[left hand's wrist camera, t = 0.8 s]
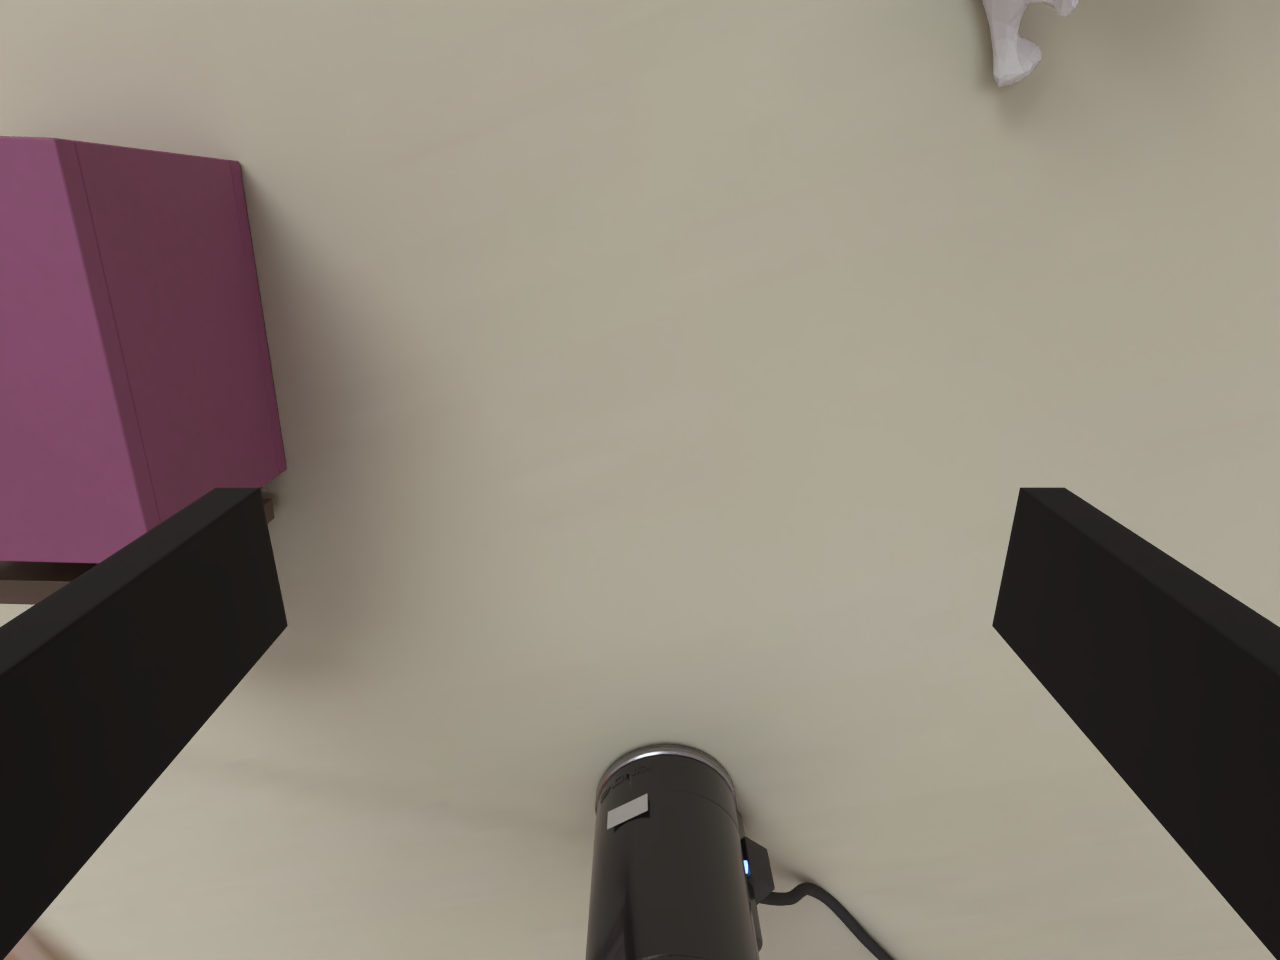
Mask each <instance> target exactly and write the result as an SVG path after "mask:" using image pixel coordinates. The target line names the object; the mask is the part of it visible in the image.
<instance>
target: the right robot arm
mask: <svg viewBox="0 0 1280 960" xmlns="http://www.w3.org/2000/svg"><path fill="white" fill-rule="evenodd" d="M595 810H596V827H595V839H594V851H593V865H592V879H591V893H590V907H589V920H588V934H587V948H586V960H760V959H759V951H760V950H761V947H762V935H761V930H760V924H759V918H758V912H757V906H756V905H757V904H758V903H762V904H768V905H777V906H784V905H792V904H795V903H797V902H798V901H799V900H801V899H802V898H803V897H804V896H805V895H810V896H812V897H815V898H817V899H818V900H820V901H822V902H823V903H824V904H826V905H827V906H828V907H829V908H830V909H831V910H832V911H833V912H834V913H835V914H836V915H837V916H838V917H839V918H840V919H841V920H842V922H843V923H844V924H845V925H846V926H847V927H848V928H849V929H850V931H851V932H852V933H853V934H854V935H855V936H856V937H857V938H858V940H859V941H860V942H861V943H862V944H863V945H864V946H865V947H866V948H867V949H868V950H869V951H870V952H871V953H872V954H873V955H874V956H875V957H876V958H877V959H878V960H893V959H892V958H891V957H890V956H889V955H888V954H887V953H886V952H885V951H884V950H883V949H882V948H881V947H880V946H879V945H878V944H877V943H876V942H875V941H874V940H873V939H872V938H871V937H870V936H869V935H868V934H867V933H866V932H865V931H864V930H863V928H862V927H861V926H860V925H859V924H858V923H857V922H856V920H855V919H854V918H853V917H852V916H851V915H850V914H849V913H848V911H847V910H846V909H845V908H844V907H843V906H842V905H841V904H840V903H839V902H838V901H837V900H836V899H835V898H834V897H832V896H831V895H830V894H829V893H827V892H826V891H825V890H823V889H822V888H820V887H818V886H816V885H814V884H811V883H801V884H799V885H798V886H796V887H795V888H794V889H793V890H791V891H790V892H787V893H777V892H772V891H773V890H774V883H773V878H772V873H771V868H770V863H769V858H768V853H767V849H765V848H764V847H762V846H760V845H759V844H757V843H755V842H754V841H752V840H750V839H749V838H747V837H745V834H744V828H743V823H742V817H741V814H740V813H739V812H738V811H737V810H736V797H735V791H734V787H733V783H732V781H731V778H730V777H729V775H728V773H727V772H726V770H725V769H724V768H723V767H722V766H721V765H720V764H719V763H718V762H717V761H716V760H715V759H713V758H712V757H710V756H709V755H707V754H705V753H703V752H701V751H699V750H696V749H693V748H690V747H686V746H681V745H673V744H659V745H651V746H647V747H643V748H639V749H637V750H634V751H632V752H629V753H627V754H626V755H624V756H622V757H621V758H619V759H618V760H617V761H615V762H614V763H613V764H612V765H611V766H610V767H609V768H608V769H607V770H606V772H605V773H604V775H603V776H602V778H601V780H600V782H599V785H598V788H597V794H596V808H595Z"/></svg>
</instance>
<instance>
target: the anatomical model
mask: <svg viewBox="0 0 1280 960" xmlns="http://www.w3.org/2000/svg"><path fill="white" fill-rule="evenodd" d="M1078 1H1079V0H982V2H983V5H984V8H985V12H986V15H987V19H988V22H989V26H990V33H991V41H992V49H993V76H994V80H995V82H996V83H997V85H998V87H1003V86H1007V85H1011V84H1014V83H1018V82H1019V81H1021V80H1022V79H1023V78H1025V77H1026V76H1028V75H1029V74H1031V72H1032V71H1033V70H1034V68H1035V67H1036V65H1037V64H1038V63H1039V62H1040V60H1041V59H1042V51H1041V48H1040V47H1039V46H1038V45H1037V44H1035V43H1033V42H1031V41H1029V40H1026V39H1024V38H1022V37H1020V35H1019V33H1018V30H1019V25H1020V22H1021V18H1022V16H1023V13H1024V11H1025V9H1026V8H1027V6H1028V5H1029V4H1031V3H1043V4H1047V5H1050V6H1053V7H1054V9H1055V11H1056V13H1057V14H1059V15H1060V16H1066V17H1067V16H1068V15H1069V14H1070V13H1072V12H1073V11H1074V10H1075V8H1076V6H1077V4H1078Z"/></svg>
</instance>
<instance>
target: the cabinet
mask: <svg viewBox="0 0 1280 960" xmlns="http://www.w3.org/2000/svg"><path fill="white" fill-rule="evenodd" d="M285 470H286V462H285V456H284V449H283V443H282V436H281V430H280V423H279V417H278V411H277V404H276V398H275V391H274V385H273V378H272V372H271V365H270V359H269V352H268V346H267V339H266V333H265V326H264V320H263V313H262V307H261V300H260V294H259V287H258V281H257V274H256V268H255V261H254V255H253V248H252V242H251V235H250V229H249V222H248V216H247V209H246V203H245V196H244V190H243V183H242V177H241V170H240V164H239V162H238V161H232V160H224V159H216V158H208V157H200V156H192V155H184V154H176V153H168V152H161V151H153V150H145V149H137V148H129V147H121V146H113V145H105V144H97V143H89V142H81V141H72V140H66V139H58V138H38V137H7V136H0V561H26V562H63V563H100V562H102V561H103V560H105V559H106V558H108V557H110V556H111V555H113V554H114V553H116V552H117V551H119V550H120V549H122V548H123V547H125V546H126V545H128V544H130V543H131V542H133V541H134V540H136V539H137V538H139V537H140V536H142V535H143V534H145V533H146V532H148V531H150V530H151V529H153V528H154V527H156V526H157V525H159V524H160V523H162V522H163V521H165V520H167V519H168V518H170V517H171V516H173V515H174V514H176V513H177V512H179V511H180V510H182V509H183V508H185V507H187V506H188V505H190V504H191V503H193V502H194V501H196V500H197V499H199V498H200V497H202V496H203V495H205V494H207V493H208V492H210V491H211V490H213V489H214V488H261V487H262V486H264V485H265V484H267V483H268V482H269V481H271V480H272V479H273V478H275V477H276V476H278V475H279V474H281V473H282V472H283V471H285Z"/></svg>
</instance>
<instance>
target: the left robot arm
mask: <svg viewBox="0 0 1280 960" xmlns="http://www.w3.org/2000/svg"><path fill="white" fill-rule="evenodd" d="M287 626H288V625H287V620H286V615H285V610H284V605H283V600H282V595H281V590H280V586H279V581H278V576H277V571H276V566H275V561H274V556H273V551H272V546H271V541H270V536H269V531H268V526H267V521H266V516H265V511H264V506H263V501H262V496H261V491H260V488H214V489H213V490H211V491H210V492H208V493H207V494H205V495H203V496H202V497H200V498H199V499H197V500H196V501H194V502H193V503H191V504H190V505H188V506H187V507H185V508H183V509H182V510H180V511H179V512H177V513H176V514H174V515H173V516H171V517H170V518H168V519H167V520H165V521H163V522H162V523H160V524H159V525H157V526H156V527H154V528H153V529H151V530H150V531H148V532H146V533H145V534H143V535H142V536H140V537H139V538H137V539H136V540H134V541H133V542H131V543H130V544H128V545H126V546H125V547H123V548H122V549H120V550H119V551H117V552H116V553H114V554H113V555H111V556H110V557H108V558H106V559H105V560H103V561H102V562H100V563H99V564H97V565H96V566H94V567H93V568H91V569H89V570H88V571H86V572H85V573H83V574H82V575H80V576H79V577H77V578H76V579H74V580H73V581H71V582H69V583H68V584H66V585H65V586H63V587H62V588H60V589H59V590H57V591H56V592H54V593H53V594H51V595H49V596H48V597H46V598H45V599H43V600H42V601H40V602H39V603H37V604H36V605H34V606H32V607H31V608H29V609H28V610H26V611H25V612H23V613H22V614H20V615H19V616H17V617H16V618H14V619H12V620H11V621H9V622H8V623H6V624H5V625H3V626H2V627H0V960H3V959H4V958H5V957H6V956H7V954H8V953H9V952H10V951H11V950H12V949H13V947H14V946H15V945H16V944H17V943H18V942H19V940H20V939H21V938H22V937H23V936H24V935H25V933H26V932H27V931H28V930H29V929H30V928H31V926H32V925H33V924H34V923H35V922H36V920H37V919H38V918H39V917H40V916H41V915H42V913H43V912H44V911H45V910H46V909H47V908H48V906H49V905H50V904H51V903H52V902H53V901H54V899H55V898H56V897H57V896H58V895H59V893H60V892H61V891H62V890H63V889H64V888H65V886H66V885H67V884H68V883H69V882H70V881H71V879H72V878H73V877H74V876H75V875H76V874H77V872H78V871H79V870H80V869H81V868H82V866H83V865H84V864H85V863H86V862H87V861H88V859H89V858H90V857H91V856H92V855H93V854H94V852H95V851H96V850H97V849H98V848H99V847H100V845H101V844H102V843H103V842H104V841H105V839H106V838H107V837H108V836H109V835H110V834H111V832H112V831H113V830H114V829H115V828H116V827H117V825H118V824H119V823H120V822H121V821H122V820H123V818H124V817H125V816H126V815H127V814H128V812H129V811H130V810H131V809H132V808H133V807H134V805H135V804H136V803H137V802H138V801H139V800H140V798H141V797H142V796H143V795H144V794H145V793H146V791H147V790H148V789H149V788H150V787H151V785H152V784H153V783H154V782H155V781H156V780H157V778H158V777H159V776H160V775H161V774H162V773H163V771H164V770H165V769H166V768H167V767H168V766H169V764H170V763H171V762H172V761H173V760H174V759H175V757H176V756H177V755H178V754H179V753H180V751H181V750H182V749H183V748H184V747H185V746H186V744H187V743H188V742H189V741H190V740H191V739H192V737H193V736H194V735H195V734H196V733H197V732H198V730H199V729H200V728H201V727H202V726H203V724H204V723H205V722H206V721H207V720H208V719H209V717H210V716H211V715H212V714H213V713H214V712H215V710H216V709H217V708H218V707H219V706H220V705H221V703H222V702H223V701H224V700H225V699H226V697H227V696H228V695H229V694H230V693H231V692H232V690H233V689H234V688H235V687H236V686H237V685H238V683H239V682H240V681H241V680H242V679H243V678H244V676H245V675H246V674H247V673H248V672H249V670H250V669H251V668H252V667H253V666H254V665H255V663H256V662H257V661H258V660H259V659H260V658H261V656H262V655H263V654H264V653H265V652H266V651H267V649H268V648H269V647H270V646H271V645H272V643H273V642H274V641H275V640H276V639H277V638H278V636H279V635H280V634H281V633H282V632H283V631H284V629H285V628H286V627H287ZM992 626H993V627H994V628H995V629H996V631H997V632H998V633H999V634H1000V635H1001V636H1002V638H1003V639H1004V640H1005V641H1006V642H1007V643H1008V645H1009V646H1010V647H1011V648H1012V649H1013V651H1014V652H1015V653H1016V654H1017V655H1018V656H1019V658H1020V659H1021V660H1022V661H1023V662H1024V663H1025V665H1026V666H1027V667H1028V668H1029V669H1030V670H1031V672H1032V673H1033V674H1034V675H1035V676H1036V678H1037V679H1038V680H1039V681H1040V682H1041V683H1042V685H1043V686H1044V687H1045V688H1046V689H1047V690H1048V692H1049V693H1050V694H1051V695H1052V696H1053V697H1054V699H1055V700H1056V701H1057V702H1058V703H1059V705H1060V706H1061V707H1062V708H1063V709H1064V710H1065V712H1066V713H1067V714H1068V715H1069V716H1070V717H1071V719H1072V720H1073V721H1074V722H1075V723H1076V724H1077V726H1078V727H1079V728H1080V729H1081V730H1082V732H1083V733H1084V734H1085V735H1086V736H1087V737H1088V739H1089V740H1090V741H1091V742H1092V743H1093V744H1094V746H1095V747H1096V748H1097V749H1098V750H1099V751H1100V753H1101V754H1102V755H1103V756H1104V757H1105V759H1106V760H1107V761H1108V762H1109V763H1110V764H1111V766H1112V767H1113V768H1114V769H1115V770H1116V771H1117V773H1118V774H1119V775H1120V776H1121V777H1122V778H1123V780H1124V781H1125V782H1126V783H1127V784H1128V786H1129V787H1130V788H1131V789H1132V790H1133V791H1134V793H1135V794H1136V795H1137V796H1138V797H1139V798H1140V800H1141V801H1142V802H1143V803H1144V804H1145V805H1146V807H1147V808H1148V809H1149V810H1150V811H1151V812H1152V814H1153V815H1154V816H1155V817H1156V818H1157V820H1158V821H1159V822H1160V823H1161V824H1162V825H1163V827H1164V828H1165V829H1166V830H1167V831H1168V832H1169V834H1170V835H1171V836H1172V837H1173V838H1174V839H1175V841H1176V842H1177V843H1178V844H1179V845H1180V847H1181V848H1182V849H1183V850H1184V851H1185V852H1186V854H1187V855H1188V856H1189V857H1190V858H1191V859H1192V861H1193V862H1194V863H1195V864H1196V865H1197V866H1198V868H1199V869H1200V870H1201V871H1202V872H1203V874H1204V875H1205V876H1206V877H1207V878H1208V879H1209V881H1210V882H1211V883H1212V884H1213V885H1214V886H1215V888H1216V889H1217V890H1218V891H1219V892H1220V893H1221V895H1222V896H1223V897H1224V898H1225V899H1226V901H1227V902H1228V903H1229V904H1230V905H1231V906H1232V908H1233V909H1234V910H1235V911H1236V912H1237V913H1238V915H1239V916H1240V917H1241V918H1242V919H1243V920H1244V922H1245V923H1246V924H1247V925H1248V926H1249V928H1250V929H1251V930H1252V931H1253V932H1254V933H1255V935H1256V936H1257V937H1258V938H1259V939H1260V940H1261V942H1262V943H1263V944H1264V945H1265V946H1266V947H1267V949H1268V950H1269V951H1270V952H1271V953H1272V954H1273V956H1274V957H1275V958H1276V959H1277V960H1280V627H1278V626H1277V625H1275V624H1274V623H1272V622H1271V621H1269V620H1268V619H1266V618H1264V617H1263V616H1261V615H1260V614H1258V613H1257V612H1255V611H1254V610H1252V609H1251V608H1249V607H1248V606H1246V605H1244V604H1243V603H1241V602H1240V601H1238V600H1237V599H1235V598H1234V597H1232V596H1231V595H1229V594H1227V593H1226V592H1224V591H1223V590H1221V589H1220V588H1218V587H1217V586H1215V585H1214V584H1212V583H1211V582H1209V581H1207V580H1206V579H1204V578H1203V577H1201V576H1200V575H1198V574H1197V573H1195V572H1194V571H1192V570H1191V569H1189V568H1187V567H1186V566H1184V565H1183V564H1181V563H1180V562H1178V561H1177V560H1175V559H1174V558H1172V557H1170V556H1169V555H1167V554H1166V553H1164V552H1163V551H1161V550H1160V549H1158V548H1157V547H1155V546H1154V545H1152V544H1150V543H1149V542H1147V541H1146V540H1144V539H1143V538H1141V537H1140V536H1138V535H1137V534H1135V533H1134V532H1132V531H1130V530H1129V529H1127V528H1126V527H1124V526H1123V525H1121V524H1120V523H1118V522H1117V521H1115V520H1113V519H1112V518H1110V517H1109V516H1107V515H1106V514H1104V513H1103V512H1101V511H1100V510H1098V509H1097V508H1095V507H1093V506H1092V505H1090V504H1089V503H1087V502H1086V501H1084V500H1083V499H1081V498H1080V497H1078V496H1077V495H1075V494H1073V493H1072V492H1070V491H1069V490H1067V489H1066V488H1020V491H1019V496H1018V501H1017V506H1016V511H1015V516H1014V521H1013V526H1012V531H1011V536H1010V541H1009V546H1008V551H1007V556H1006V561H1005V566H1004V571H1003V576H1002V581H1001V586H1000V590H999V595H998V600H997V605H996V610H995V615H994V620H993V625H992Z"/></svg>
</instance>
